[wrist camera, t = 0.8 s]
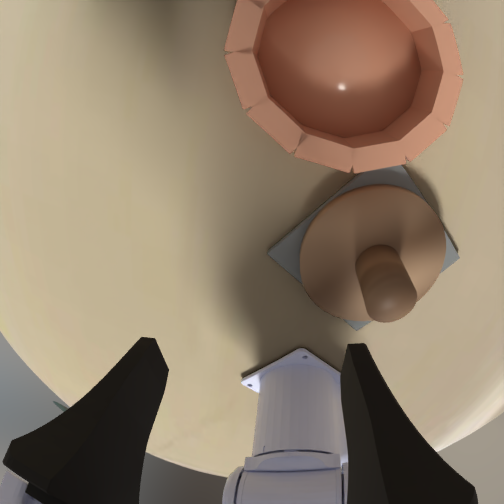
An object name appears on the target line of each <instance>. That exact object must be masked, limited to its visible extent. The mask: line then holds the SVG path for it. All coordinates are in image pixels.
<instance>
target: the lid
mask: <svg viewBox="0 0 504 504" xmlns="http://www.w3.org/2000/svg"><path fill="white" fill-rule="evenodd" d="M445 254H446V237H445V232H444V228H443V225H442V223H441V221H440V219H439V217H438V216H437V214H436V213H435V212H434V210H433V209H432V208H431V207H430V206H429V205H428V204H427V203H426V202H425V201H424V200H423V199H422V198H421V197H420V196H418V195H417V194H415V193H414V192H412V191H410V190H408V189H406V188H402V187H399V186H395V185H389V184H373V185H365V186H362V187H358V188H354V189H352V190H350V191H347V192H345V193H343V194H341V195H339V196H338V197H336V198H334V199H333V200H332V201H330V202H329V203H328V204H326V205H325V206H324V207H323V208H322V209H321V210H320V211H319V212H318V213H317V215H316V216H315V217H314V218H313V220H312V221H311V223H310V224H309V226H308V228H307V230H306V232H305V234H304V237H303V240H302V243H301V248H300V274H301V279H302V283H303V286H304V288H305V290H306V292H307V294H308V295H309V297H310V298H311V299H312V301H313V302H314V303H315V304H316V305H317V306H318V307H320V308H321V309H322V310H324V311H325V312H327V313H329V314H331V315H333V316H336V317H338V318H342V319H346V320H352V321H373V320H375V321H378V322H393V321H396V320H398V319H401V318H402V317H404V316H405V315H407V314H408V313H409V312H410V311H411V310H412V309H413V307H414V306H415V304H416V302H417V301H418V300H420V299H421V298H422V297H423V296H424V295H425V294H426V293H427V292H428V290H429V289H430V288H431V287H432V285H433V284H434V283H435V281H436V279H437V278H438V276H439V274H440V272H441V269H442V267H443V263H444V260H445Z"/></svg>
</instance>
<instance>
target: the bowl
mask: <svg viewBox="0 0 504 504" xmlns="http://www.w3.org/2000/svg"><path fill="white" fill-rule="evenodd" d="M447 20H448V18H447V17H446V16H445V14H444V13H443V12H442V11H441V10H440V8H439V7H438V6H437V5H436V4H435V2H434V1H433V0H237V2H236V6H235V9H234V13H233V17H232V20H231V24H230V28H229V32H228V36H227V40H226V44H225V48H224V50H225V51H227V52H229V54H226V55H224V56H225V59H226V62H227V64H228V67H229V70H230V73H231V76H232V79H233V82H234V84H235V87H236V90H237V93H238V96H239V99H240V102H241V105H242V108H243V109H246V108H250V107H252V108H251V109H250V110H249V111H248V112H247V113H246V114H247V115H248V116H249V117H250V118H251V119H252V120H253V121H255V122H256V123H257V124H258V125H259V126H260V127H261V128H262V129H263V130H265V131H266V132H267V133H268V134H269V135H270V136H271V137H272V138H273V139H274V140H275V141H276V142H278V143H279V144H280V145H281V146H282V147H283V148H284V149H285V150H286V151H287V152H288V153H289V154H291V153H292V152H293V151H294V157H297V158H300V159H304V160H308V161H311V162H314V163H318V164H321V165H324V166H328V167H331V168H334V169H337V170H341V171H344V172H347V173H350V171H351V169H352V171H353V172H354V174H355V173H360V172H365V171H371V170H376V169H381V168H387V167H392V166H398V165H403V164H406V159H407V160H408V161H409V162H411V161H412V160H413V159H414V158H415V157H417V156H418V155H419V154H420V153H421V152H422V151H424V150H425V149H426V148H427V147H428V146H429V145H430V144H432V143H433V142H434V141H435V140H436V139H437V138H438V137H440V136H441V135H442V134H443V133H444V132H445V131H446V130H447V129H446V127H445V126H444V124H445V125H447V126H450V123H451V120H452V117H453V114H454V110H455V107H456V104H457V100H458V97H459V93H460V90H461V86H462V83H463V79H462V78H461V77H459V76H457V75H463V70H462V65H461V61H460V56H459V52H458V48H457V44H456V40H455V37H454V33H453V30H452V26H451V24H450V23H444V22H445V21H447ZM271 95H272V96H271Z"/></svg>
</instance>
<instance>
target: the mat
mask: <svg viewBox="0 0 504 504" xmlns="http://www.w3.org/2000/svg"><path fill="white" fill-rule="evenodd" d="M373 184H389V185H395V186H399V187H402V188H406V189H408V190H410V191H412V192H414V193H415V194H417V195H418V196H420V197H421V198H422V199H423V200H424V201H425V202H426V203H427V201H426V200H425V198H424V197H423V195H422V194H421V192H420V191H419V189H418V188H417V186H416V185H415V183H414V182H413V180H412V179H411V178H410V176H409V175H408V173H407V172H406V171H405V169H404V168H403V167H402V165H398V166H392V167H387V168H381V169H376V170H371V171H365V172H360V173H359V174H358V175H357V176H355V177H354V178H353V179H352V180H351V181H350V182H348V183H347V184H346V185H345V186H344V187H342V188H341V189H340V190H339V191H338V192H337V193H335V194H334V195H333V196H332V197H331V198H330V199H328V200H327V201H326V202H325V203H324V204H323V205H321V206H320V207H319V208H318V209H317V210H315V211H314V212H313V213H312V214H311V215H310V216H308V217H307V218H306V219H305V220H304V221H302V222H301V223H300V224H299V225H298V226H297V227H295V228H294V229H293V230H292V231H291V232H289V233H288V234H287V235H286V236H285V237H283V238H282V239H281V240H280V241H279V242H278V243H276V244H275V245H274V246H273V247H272V248H270V249H269V250H268V252H267V254H268V255H269V256H270V257H271V258H272V259H273V260H275V261H276V262H277V263H278V264H279V265H280V266H282V267H283V268H284V269H285V270H286V271H287V272H289V273H290V274H291V275H292V276H293V277H294V278H296V279H297V280H298V281H299V282H300V283H301V284H303V283H302V279H301V274H300V248H301V243H302V240H303V237H304V234H305V232H306V230H307V228H308V226H309V224H310V223H311V221H312V220H313V218H314V217H315V216H316V215H317V213H318V212H319V211H320V210H321V209H322V208H323V207H324V206H325V205H326V204H328V203H329V202H330V201H332V200H333V199H334V198H336V197H338V196H339V195H341V194H343V193H345V192H347V191H350V190H352V189H354V188H358V187H362V186H365V185H373ZM427 204H428V203H427ZM428 205H429V204H428ZM444 232H445V230H444ZM445 237H446V254H445V260H444V263H443V267H442V269H441V272H443V271H444V270H445V269H447V268H448V267H449V266H450V265H452V264H453V263H454V262H455V261H457V260H458V259H459V258H460V257H459V255H458V254H457V252H456V250H455V248H454V246H453V244H452V243H451V241H450V239H449V237H448V236H447V234H446V232H445ZM441 272H440V273H441ZM343 320H344V321H346V322H347V323H348V324H349V325H350V326H351V327H352V328H354V329H355V330H356V331H357V330H358V329H360V328H362V327H363V326H365V325H366V324H368V323H370V322H371V321H352V320H346V319H343Z"/></svg>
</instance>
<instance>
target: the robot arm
mask: <svg viewBox="0 0 504 504" xmlns="http://www.w3.org/2000/svg"><path fill="white" fill-rule="evenodd" d="M168 372H169V369H168V367H167V364H166V362H165V360H164V358H163V355H162V353H161V351H160V349H159V346H158V344H157V342H156V339H155V338H147V337H141V338H140V339H139V340H138V341H137V342H136V343H135V344H134V345H133V347H132V348H131V349H130V350H129V351H128V352H127V353H126V354H125V355H124V356H123V357H122V359H121V360H120V361H119V362H118V363H117V364H116V365H115V366H114V367H113V368H112V369H111V370H110V371H109V372H108V374H107V375H106V376H105V377H104V378H103V379H102V380H101V381H100V382H99V383H98V384H97V385H96V386H94V387H93V388H92V389H91V390H90V391H89V392H88V393H87V394H86V395H85V396H84V397H83V398H81V399H80V400H79V401H78V402H77V403H75V404H74V405H73V406H72V407H70V408H69V409H68V410H66V411H65V412H63V413H62V414H61V415H59V416H58V417H56V418H55V419H53V420H52V421H50V422H49V423H47V424H45V425H43V426H42V427H40V428H38V429H36V430H34V431H32V432H30V433H28V434H26V435H24V436H21V437H19V438H17V439H14V440H12V441H11V444H10V446H9V448H8V450H7V453H6V455H5V457H4V459H3V464H4V465H5V466H6V467H8V468H9V469H10V470H12V471H13V472H15V473H16V474H18V475H19V476H21V477H22V478H23V479H25V480H27V481H28V482H29V483H27V482H25V481H24V480H22V479H21V478H19V477H18V476H16V475H15V474H13V473H11V472H10V471H8V470H7V471H6V473H5V475H4V478H3V480H2V483H1V486H0V504H139V491H140V481H141V474H142V467H143V461H144V456H145V451H146V446H147V442H148V439H149V435H150V432H151V429H152V427H153V424H154V421H155V418H156V415H157V412H158V409H159V406H160V403H161V400H162V398H163V395H164V391H165V387H166V382H167V377H168ZM241 383H242V384H243V385H244V386H246V387H248V388H250V389H252V390H254V391H256V392H257V393H259V398H258V407H257V416H256V425H255V434H254V442H253V451H252V457H246V458H245V465H244V466H240V467H237V468H236V469H235V470H234V471H233V472H232V473H231V474H230V475H229V477H228V479H227V481H226V484H225V488H224V493H223V501H222V504H478V499H477V494H476V490H475V487H474V486H473V485H472V484H470V483H469V482H468V481H467V480H465V479H464V478H463V477H462V476H461V475H459V474H458V473H457V472H456V471H455V470H454V469H453V468H452V467H450V466H449V465H448V464H447V463H446V462H445V461H444V460H443V459H442V458H441V457H440V456H439V454H437V452H436V451H435V450H434V449H433V448H432V447H431V446H430V445H429V444H428V443H427V441H426V440H425V439H424V438H423V437H422V435H421V434H420V433H419V432H418V430H417V429H416V428H415V426H414V425H413V424H412V422H411V421H410V420H409V418H408V417H407V415H406V414H405V413H404V411H403V410H402V408H401V407H400V405H399V404H398V402H397V400H396V399H395V397H394V396H393V394H392V392H391V391H390V389H389V387H388V386H387V384H386V382H385V380H384V379H383V377H382V375H381V373H380V371H379V370H378V368H377V366H376V364H375V362H374V360H373V358H372V356H371V354H370V352H369V350H368V348H367V346H366V344H364V343H360V344H348V346H347V350H346V354H345V359H344V363H343V367H342V371H341V373H340V372H338V371H337V370H335V369H334V368H332V367H331V366H329V365H328V364H326V363H325V362H324V361H322V360H321V359H319V358H318V357H316V356H315V355H313V354H312V353H310V352H309V351H308V350H306V349H304V348H299V349H297V350H295V351H293V352H292V353H290V354H288V355H286V356H284V357H283V358H281V359H279V360H277V361H275V362H273V363H271V364H270V365H268V366H266V367H264V368H262V369H260V370H258V371H256V372H254V373H252V374H250V375H248V376H246V377H244V378H243V379H242V380H241ZM341 467H342V469H341Z"/></svg>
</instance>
